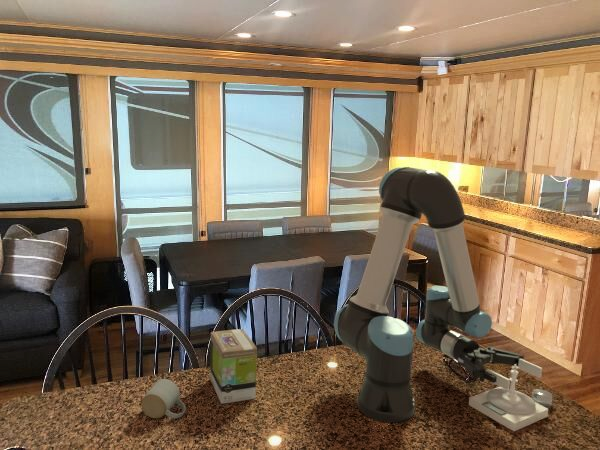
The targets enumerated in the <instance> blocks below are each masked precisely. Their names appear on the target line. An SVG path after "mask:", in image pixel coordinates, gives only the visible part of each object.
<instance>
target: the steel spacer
mask: <svg viewBox="0 0 600 450" xmlns="http://www.w3.org/2000/svg"><path fill="white" fill-rule="evenodd" d="M531 398H532V399H533V400H534V402H536V403H538V404H540V405H542V406H544V407H545V408H547V409H550V408H551V407H552V403H553V394H552V393H551V392H550V391H548V390H545V389H542V388H535V389H533V390H532V394H531Z"/></svg>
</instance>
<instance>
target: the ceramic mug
mask: <svg viewBox="0 0 600 450" xmlns="http://www.w3.org/2000/svg"><path fill="white" fill-rule="evenodd" d="M180 392H181V391H180V389H179V387H178V385H177V384H176V383H175V382H174V381H173V380H170V379H168V378H161V379H158V380H157V381H155V383H154V384H153V385H152V386H151V387H150V389H149V390H148V391H147V392H146V394H145V395H144V396H143V398H142V400H141V409H142V412H143V413H144V415H146V416H147V417H148V418H151V419H160V418H162V417H164V416H165V415H166V416H167V417H168V418H172V419H180V418H182V417H183V415H184V414H185V413H186V410H187V408H186V404H185V403H184V402H183V401H182V400H181V399H180V396H181V393H180ZM176 404H177V405H178V406H179V407H180V408H181V410H182V412H179V413H175V412H173V411H172V412H171V409H172V408H173V407H174V406H175V405H176Z"/></svg>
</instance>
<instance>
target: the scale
mask: <svg viewBox="0 0 600 450" xmlns="http://www.w3.org/2000/svg"><path fill="white" fill-rule="evenodd" d="M506 392H509V390H506V389H504V388H502V387H500V386H498V387H495V388H492V389H489V390H487V391H484V392H480V393H478V394H476V395H472V396H470V397H469V398H468V399H469V400H468V406H470V407H472V408H473V409H474V410H476V411H477V412H480V413H482V414H483V415H485V416H487V417H488V418H491V419H492V420H494V421H495V422H497V423H498V424H501V425H502V426H504V428H507V429H508V430H511V431H512V432H517V431H519V430H520V429H523V428H525V427H527V426H529V425H532V424H534V423H537V422H538V421H541V420H542V419H545V418H548V414H549V408H545V407H544V406H542V405H540V404H538V403H536V402H534V400H533V399H532V397H530V396H529V395H527V394H526V393H524V392H520V391H518V390H516V389H515V393H516V395H518V396H519V397H520V398H521V403H520V404H510V403H507V402H505V401H503V400H502V398H501V396H502V394H503V393H506Z"/></svg>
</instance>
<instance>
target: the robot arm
mask: <svg viewBox="0 0 600 450" xmlns="http://www.w3.org/2000/svg"><path fill="white" fill-rule="evenodd" d="M379 183H380V184H379V186H378V193H379V195H380V196H379V198H380V200H381V204H380V211H381V213H382V218H381V222H380V225H379V227H378V230H377V234H376V236H375V239H374V241H373V245H372V248H371V252H370V255H369V257H368V260H367V263H366V266H365V268H364V273H363V275H362V279H361V281H360V285H359V288H358V290H357V293H356V294H355V295H353V296H351V297H350V298H349V301H348V304H347V303H346V304H344V305H343V306H342V307H341V308H339V309H338V311H337V312H336V315H335V318H334V323H333V325H334V327H333V328H334V331H335V332H334V333H335V334H336V336H337V338H338V339H339V340H340V341H341V342H342V343H343V345H344V346H346V347H347V348H349V349H350V350H352V351H354V352H355V353H356V354H358V355H359V356H360V357H361V358H363V359H365V361H366V363H365V365H366V366H365V376H364V380H363V382H362V384H361V388H360V389H359V391H358V393H357V401H356V405H357V408H358V410H359V411H360V412H361V413H362V414H363V415H365V416H366V417H368V418H370V419H372V420H375V421H378V422H383V423H401V422H405V421H408V420H409V419H411V418H412V417H413V416H414V414H415V411H416V400H415V397H414V394H413V390H412V386H411V373H412V365H413V364H412V363H413V353H414V346H415V341H414V331H413V328H411V326H410V325H409V324H408V323H407V322H405V321H404V320H402V319H400V318H397V317H396V318H394V317H392V316H390V315H389V313H390V311H389V310H388V307H387V301H388V299H389V296H390V293H391V289H392V287H393V284H394V280H395V278H396V275H397V272H398V269H399V266H400V262H401V260H402V257H403V255H404V251H405V248H406V245H407V243H408V239H409V236H410V234H411V230H412V227H413V226H414V225H415V224H417V223H418V222H420V221H421V218H422V215H423V216H424V217H425V218H426V222H427V225H428V227H429V228H430V229H431V230H433V233H434V238H435V242H436V246H437V249H438V253H439V258H440V262H441V267H442V270H443V271H442V272H443V275H444V278H445V283H446V286H443V285H432V286H430V287H429V288H428V289H427V292H426V298H425V314H424V315H425V317H424V319H422V320H421V321H420V322H419V323H418V325H417V327H416V328H415V336H416V338H417V340H418V341H419V342H421V343H422V344H424V345H425V346H427V347H428V348H429V347H430V348H431V349H434V350H437V351H438V352H440V353H442V354H445V355H447V356H448V357H449V358H450V359H454V360H455V361H457V364H458V365H460V366H462V367H463V368H464V369H465V370H466V372H467V373H468V374H469V375H470V376H471V377H472V378H473V380H479V381H480V382H485V380H487V382H488V381H489V382H490V383H493V384H495V385H496V386H498V387H502V388H504V389H506V390H509V389H510V385H511V381H510V378H508V377H506V376H504V375H501V374H500V373H498V372H496V371H494V370H491V369H489V368H487V369H486V367H485V365H486V364H491V365H494V364H501V365H507V366H513V367H514V364H516V367H519V369H520V370H521V371H523V372H525V373H528V374H530V375H532V376H534V377H536V378H538V379H539V378H540V379H541V378H542V373H543V367H541V366H539V365H536V364H534V363H531V362H530V361H527V360H525V359H524V358H525V355H524V354H521V353H516V352H513V351H510V350H509V351H507V350H504V349H500V348H496V347H493V346H491V345H488V346H487V349H486V348H481V347H480V345H479V343H478V342H477V341H476V340H475V339H473V338H474V337H475V338H477V339H481V338H483V337H485V336H486V335H488V334H489V332H490V331H491V328H492V323H493V322H492V317H491V316H490V315H489V313H487V312H486V311H484V310H482V308H481V304H480V299H479V294H478V290H477V285H476V281H475V276H474V271H473V268H472V263H471V258H470V253H469V248H468V243H467V240H466V239H467V238H466V234H465V230H464V225H463V224H464V222H465V221H466V215H465V211H464V207H463V204H462V201H461V198H460V196H459V194H458V191H457V190H456V188H455V186H454V185H453V184H452V182H451V181H450V180H449V179H448V177H446V176H445V175H444V174H442V173H441V172H439V171H436V170H433V169H423V168H416V167H410V166H403V167H400V166H399V167H394V168H392V169H390V170H389V171H388V172H386V173H385V174H384V175H383V177H382V179H381V180H380V182H379ZM450 326H451V327H454V328H455V329H456V330H459V331H461V332H462V333H465V334H466V335H468V336H471V337H473V338H471V337H468V336H465V334H462V333H460V332H457V331H455V330H452V329H450ZM519 369H518V370H519Z"/></svg>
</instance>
